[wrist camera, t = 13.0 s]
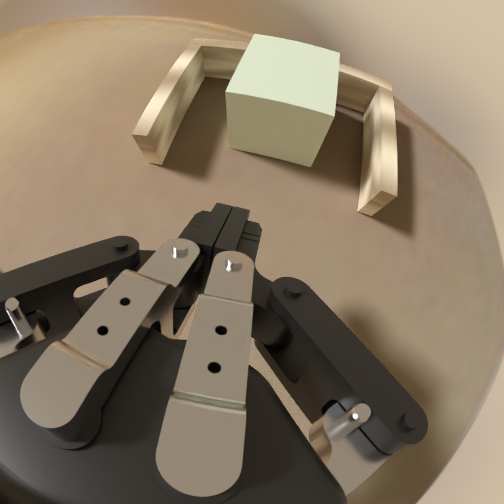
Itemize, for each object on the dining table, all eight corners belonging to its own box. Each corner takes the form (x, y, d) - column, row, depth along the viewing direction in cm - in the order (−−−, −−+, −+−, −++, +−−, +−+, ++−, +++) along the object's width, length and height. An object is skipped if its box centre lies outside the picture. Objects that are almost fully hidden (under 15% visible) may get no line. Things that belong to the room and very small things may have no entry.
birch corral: (371, 215, 24) (397, 196, 19) (148, 162, 24) (131, 134, 19) (374, 108, 27) (391, 82, 22) (198, 68, 27) (193, 38, 22)
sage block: (310, 168, 25) (334, 116, 17) (229, 148, 25) (225, 91, 17) (321, 104, 26) (339, 53, 19) (251, 88, 27) (254, 33, 19)
